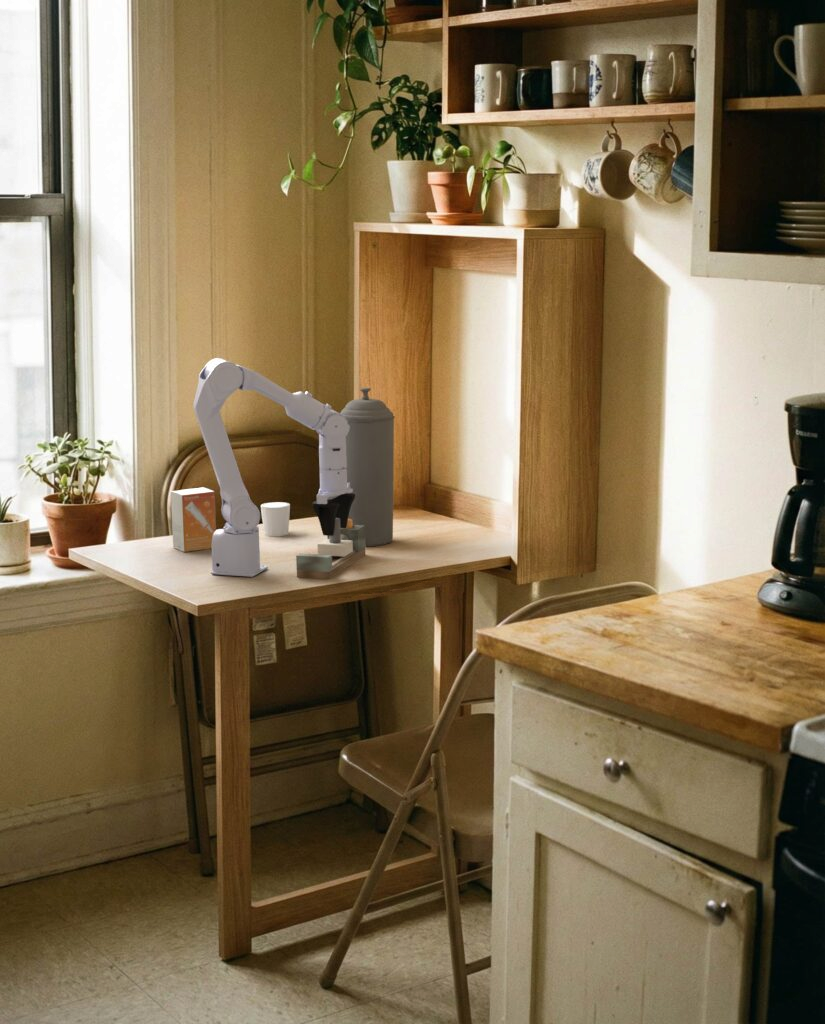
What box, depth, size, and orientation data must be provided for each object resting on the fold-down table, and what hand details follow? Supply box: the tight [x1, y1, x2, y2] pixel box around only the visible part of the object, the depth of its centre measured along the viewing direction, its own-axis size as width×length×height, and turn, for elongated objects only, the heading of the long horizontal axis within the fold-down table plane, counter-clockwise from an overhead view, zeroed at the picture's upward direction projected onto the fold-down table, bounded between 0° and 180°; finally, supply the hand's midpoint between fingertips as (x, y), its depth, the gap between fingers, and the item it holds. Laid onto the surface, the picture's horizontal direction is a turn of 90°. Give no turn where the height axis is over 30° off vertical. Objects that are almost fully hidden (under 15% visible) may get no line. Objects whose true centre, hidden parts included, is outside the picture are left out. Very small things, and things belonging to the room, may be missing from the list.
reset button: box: [345, 519, 353, 529], centre depth 292 cm, size 3×3×3 cm
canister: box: [340, 387, 395, 547], centre depth 303 cm, size 13×13×35 cm
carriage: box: [317, 518, 353, 557], centre depth 286 cm, size 6×5×7 cm
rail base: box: [295, 525, 367, 580], centre depth 285 cm, size 7×22×6 cm, turn 162°
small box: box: [170, 486, 217, 553], centre depth 303 cm, size 8×6×13 cm
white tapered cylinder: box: [260, 501, 291, 537], centre depth 316 cm, size 7×7×7 cm
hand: (334, 531), depth 286 cm, fingers open, 7 cm apart
